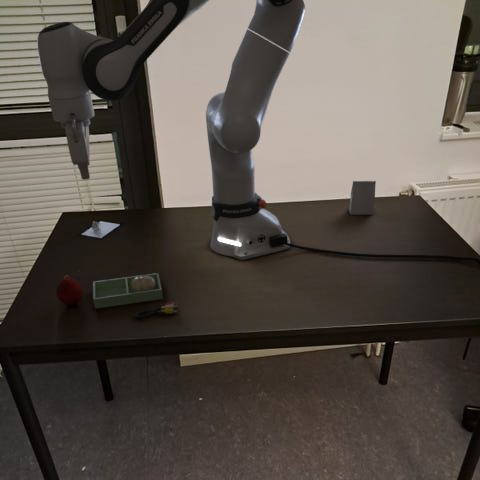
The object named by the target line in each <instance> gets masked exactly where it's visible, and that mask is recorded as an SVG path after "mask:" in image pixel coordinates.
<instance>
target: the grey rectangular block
mask: <svg viewBox="0 0 480 480" xmlns="http://www.w3.org/2000/svg"><path fill="white" fill-rule="evenodd" d="M376 181H377V180H353V181H352V184H351V191H350V198H349V207H348V211H349V214H350V215H352V216H353V215H357V216H359V215H360V216H361V215H363V216H364V215H365V216H366V215H369V216H372V215H373V214H374V207H375V200H376V184H377V183H376Z"/></svg>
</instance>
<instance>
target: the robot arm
mask: <svg viewBox="0 0 480 480" xmlns="http://www.w3.org/2000/svg"><path fill="white" fill-rule="evenodd" d="M210 1H211V0H148V2H147V4H146V6H145V7H144V8H143V9H142V11H141V12H140V13H138V15H137V16H136V17H135V18H134V19H133V20H132V21H131V23H130V24H129V25H128V26H127V27H126V28H125V29H124V30H123V31H122V33H120V35H118V37H116V38H115V39H110V38H108V37H103V36H99V35H96V34H93V33H91V32H88V31H85V30H84V29H82V28H80V27H79V26H77V25H75V24H74V23H73V22H69V21H63V22H57V23H54V24H51V25H48V26H46V27H44V28H43V29H41V31H40V32H39V33H38V35H37V37H36V43H37V44H36V46H37V54H38V59H39V64H40V69H41V73H42V76H43V78H44V81H45V82H46V86H47V98H48V102H49V106H50V110H51V114H52V115H51V116H52V119H53V121H55V122H58V123H60V127H61V128H62V129H64V130H65V136H66V141H67V146H68V151H69V156H70V160H71V162H72V164H73V165H74V166H77V168H78V170H79V174H80V178H81V179H82V180H83V181H85V180H89V179H90V178H91V176H90V175H91V173H90V170H89V166H90V165H91V164H90V163H91V162H90V125H91V120H90V119H92V118H94V117H95V114H96V113H95V108H94V104H93V98H92V94H93V95H95V96H96V97H97V98H99V99H101V100H104V101H110V102H114V101H115V102H117V101H120V100H123V99H124V98H125V97H127V96H128V95H129V94H130V93H131V92H132V90H133V89H134V86H135V85H136V82H137V79H138V76H139V74H140V71H141V69H142V67H143V65H144V64H145V63H146V61H147V60H148V59H149V58H150V57H151V56H152V55H153V53H155V51H156V50H157V49H159V47H160V46H161V45H162V44H163V42H165V40H166V39H167V38H168V37H170V35H171V34H172V33H173V32H174V31H175V30H176V29H177V28H178V27H180V25H182V24H183V23H185V21H187V20H188V19H189V18H191V17H192V16H194V15H195V14H196V13H197V12H199V11H200V10H201V9H202V8H203V7H204V6H206V5H207V4H208V3H209V2H210ZM305 12H306V5H305V1H304V0H256V1H255V9H254V12H253V16H252V18H251V20H250V22H249V24H248V26H247V29H246V31H245V33H244V35H243V38H242V40H241V42H240V44H239V46H238V49H237V50H236V54H235V56H234V58H233V61H232V63H231V69H230V73H229V76H228V81H227V84H226V87H225V90H224V91H223V92H218V93H216V94H215V95H213V96H212V97H211V98H210V99H209V101H208V103H207V105H206V109H205V121H206V134H207V141H208V151H209V159H210V164H211V178H212V180H211V181H212V197H211V215H212V218H213V224H212V225H213V227H212V235H211V240H210V243H209V247H210V249H211V250H212V251H213V252H215V253H216V254H219V255H222V256H225V257H226V256H227V257H232V258H234V259H237V260H240V261H245V260H248V259H249V260H250V259H252V258H257V257H261V256H265V255H270V254H273V253H277V252H282V251H285V250H288V249H289V248H290V247H292V248H294V249H298V250H299V249H300V250H305V251H311V252H318V253H325V254H332V255H341V256H351V257H364V258H397V259H398V258H399V259H400V258H401V259H402V258H403V259H404V258H406V259H407V258H412V259H413V258H414V259H415V258H417V259H418V258H419V259H420V258H423V259H446V260H447V259H449V260H459V261H474V262H477V263H478V264H480V259H479V258H477V257H472V256H454V255H442V254H441V255H440V254H439V255H438V254H437V255H436V254H378V253H377V254H376V253H375V254H374V253H373V254H371V253H359V252H358V253H357V252H346V251H339V250H338V251H337V250H328V249H321V248H313V247H308V246H301V245H297V244H293V243H291V238H290V237H289V234H288V233H287V232H286V231H284V230H283V227H282V225H281V222H280V220H279V219H278V218H277V216H276V215H275V214H273V213H272V212H270V211H269V210H267V209H266V208H267V207H268V203H267V202H266V200H265V199H263V198H262V197H261V196H260V195H259V194H258V193H257V192H255V191H256V190H255V188H256V187H255V183H256V181H255V180H256V179H255V177H256V176H255V164H254V158H253V157H254V156H253V149H254V148H256V146H257V145H258V143H259V141H260V139H261V132H262V126H263V122H264V119H265V116H266V114H267V110H268V107H269V104H270V100H271V98H272V94H273V91H274V88H275V85H276V83H277V82H278V79H279V77H280V75H281V73H282V71H283V69H284V67H285V64H286V62H287V60H288V58H289V56H290V55H291V54H290V53H291V52H292V50H293V47H294V45H295V43H296V41H297V38H298V35H299V33H300V29H301V27H302V23H303V20H304V16H305ZM91 93H92V94H91ZM471 341H472V338H469V337H468V338H467V341H466V345H465V348H464V351H463V356H462V360H463V361H465V360H466V358H467V354H468V350H469V348H470V344H471Z"/></svg>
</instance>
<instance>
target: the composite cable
mask: <svg viewBox="0 0 480 480" xmlns="http://www.w3.org/2000/svg"><path fill="white" fill-rule="evenodd" d="M177 304H178V302H177V301H176V302H172V301H171V302H167V303H164V304H162V305H160V306H158V307H156V308H153V309H147V310H142V311H138V312H137V313H136V314H135V315H134V316H135V319H137V320H142V319H146V318H147V317H149V316H151V315H159V316H160V315H163V316H164V315H172V314H177V313H178V310H175V309H176V308H179V305H177Z"/></svg>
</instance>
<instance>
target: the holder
mask: <svg viewBox="0 0 480 480" xmlns="http://www.w3.org/2000/svg"><path fill="white" fill-rule="evenodd" d="M139 276H151V277H152V278H154V280H155V282H156V287H155V289H154V290H149V291H142V292H133V291H132V289H131V281H132V280H133V279H134V278H136V277H139ZM156 300H157V301H159V300H164V295H163V288H162V283H161V279H160V274H159V272H155V273H147V274H139V275H133V276H132V275H131V276H125V277H118V278H109V279H103V280H96V281H92V302H93V305H94V309H101V308H107V307H108V308H110V307H115V306H123V305H130V304H137V303H142V302H143V303H144V302H150V301H156Z"/></svg>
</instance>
